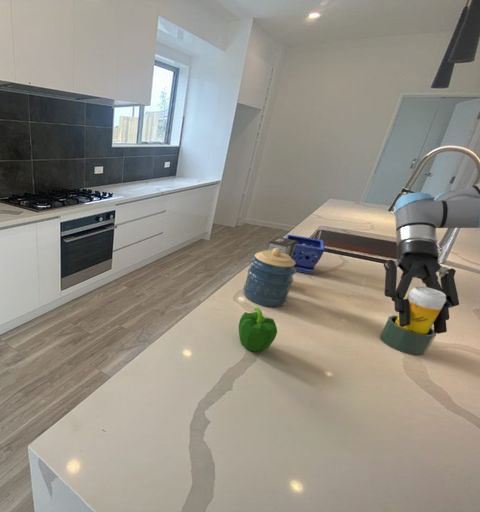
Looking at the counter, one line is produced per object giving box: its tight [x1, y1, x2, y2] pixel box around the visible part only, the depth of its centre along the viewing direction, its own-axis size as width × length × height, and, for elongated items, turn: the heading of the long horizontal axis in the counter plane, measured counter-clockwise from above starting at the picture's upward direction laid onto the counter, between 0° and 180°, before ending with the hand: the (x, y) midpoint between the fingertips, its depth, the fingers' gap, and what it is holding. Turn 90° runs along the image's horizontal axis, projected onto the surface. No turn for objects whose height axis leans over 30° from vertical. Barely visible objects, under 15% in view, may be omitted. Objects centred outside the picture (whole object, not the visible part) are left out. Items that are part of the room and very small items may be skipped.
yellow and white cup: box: [395, 285, 446, 335], centre depth 76 cm, size 6×6×15 cm
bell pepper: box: [238, 306, 278, 352], centre depth 74 cm, size 8×8×10 cm
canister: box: [242, 248, 297, 308], centre depth 96 cm, size 13×13×18 cm
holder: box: [379, 315, 437, 356], centre depth 78 cm, size 9×9×6 cm
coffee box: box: [266, 236, 297, 258], centre depth 108 cm, size 9×6×16 cm
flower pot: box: [285, 234, 326, 274], centre depth 121 cm, size 13×13×12 cm
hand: (422, 328), depth 73 cm, fingers closed on yellow and white cup, 6 cm apart
